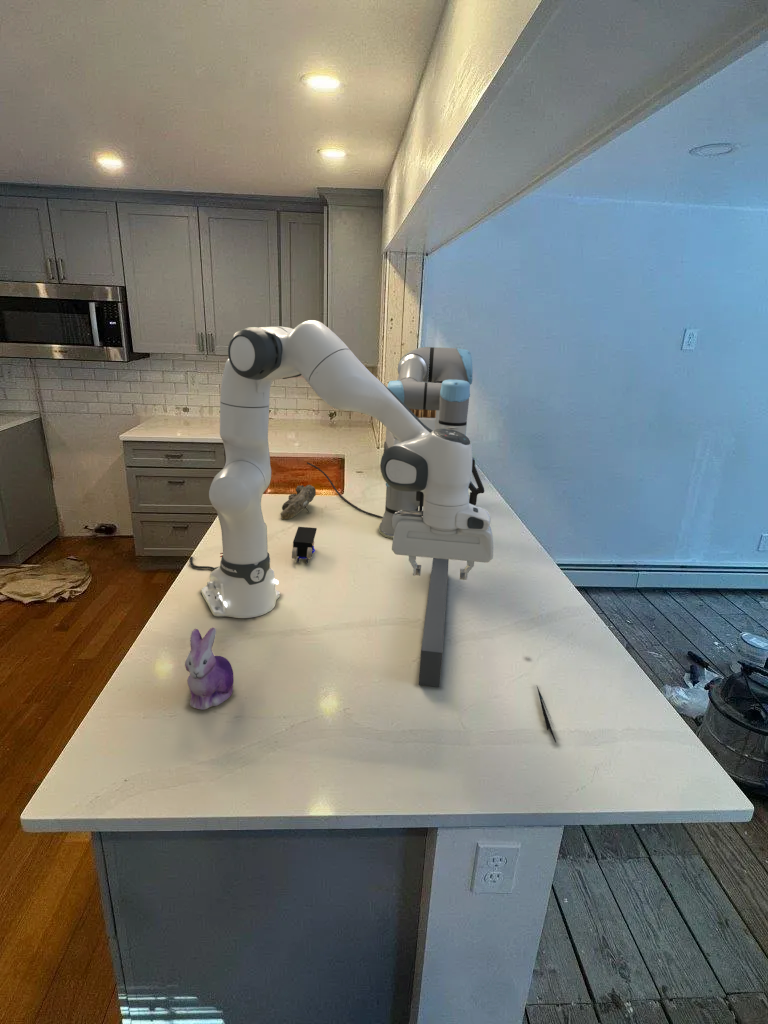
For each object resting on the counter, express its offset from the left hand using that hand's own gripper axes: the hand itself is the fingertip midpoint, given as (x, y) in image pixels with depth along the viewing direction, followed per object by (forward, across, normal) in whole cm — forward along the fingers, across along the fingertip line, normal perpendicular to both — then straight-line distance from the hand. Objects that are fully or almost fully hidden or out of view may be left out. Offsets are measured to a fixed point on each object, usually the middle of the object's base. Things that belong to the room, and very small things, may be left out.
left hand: (439, 576), depth 116 cm
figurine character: (+24, -43, +54) cm, 72 cm away
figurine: (+24, -43, -16) cm, 52 cm away
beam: (+24, 0, +22) cm, 33 cm away
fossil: (+24, -55, +93) cm, 111 cm away
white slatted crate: (+24, -14, +160) cm, 162 cm away
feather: (+24, +23, -4) cm, 33 cm away
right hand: (+2, 0, +45) cm, 45 cm away
